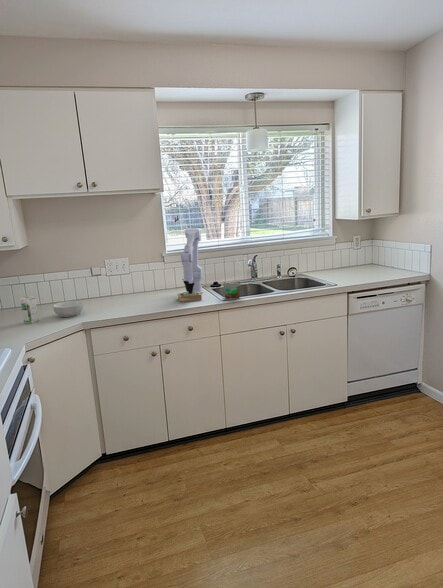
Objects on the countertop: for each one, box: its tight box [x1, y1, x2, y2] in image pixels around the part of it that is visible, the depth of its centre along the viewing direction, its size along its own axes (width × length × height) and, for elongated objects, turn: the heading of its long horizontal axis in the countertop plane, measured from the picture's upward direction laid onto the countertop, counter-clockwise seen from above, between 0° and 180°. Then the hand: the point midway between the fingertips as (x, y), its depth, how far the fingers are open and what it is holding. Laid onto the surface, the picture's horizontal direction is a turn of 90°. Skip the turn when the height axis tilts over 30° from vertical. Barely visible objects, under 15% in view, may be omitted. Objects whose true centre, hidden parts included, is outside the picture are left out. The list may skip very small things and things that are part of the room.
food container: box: [222, 281, 242, 300], centre depth 257 cm, size 12×6×10 cm, turn 62°
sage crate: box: [182, 291, 197, 296], centre depth 260 cm, size 5×8×4 cm, turn 104°
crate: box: [177, 291, 203, 303], centre depth 260 cm, size 10×14×4 cm
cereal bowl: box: [52, 300, 85, 318], centre depth 235 cm, size 17×17×7 cm
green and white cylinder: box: [19, 295, 39, 324], centre depth 224 cm, size 6×6×14 cm
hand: (189, 292), depth 259 cm, fingers open, 7 cm apart
